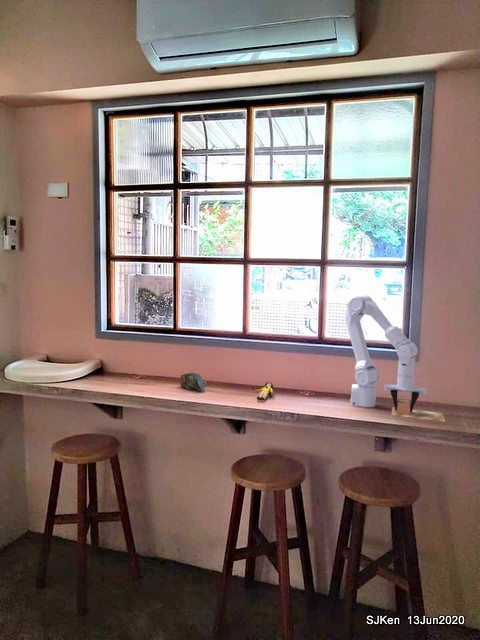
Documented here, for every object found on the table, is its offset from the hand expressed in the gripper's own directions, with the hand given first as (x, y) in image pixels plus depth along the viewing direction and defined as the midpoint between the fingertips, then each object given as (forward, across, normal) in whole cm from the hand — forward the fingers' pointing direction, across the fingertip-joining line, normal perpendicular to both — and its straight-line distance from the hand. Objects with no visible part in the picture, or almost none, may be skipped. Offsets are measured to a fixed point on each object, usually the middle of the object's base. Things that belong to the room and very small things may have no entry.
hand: (403, 410), depth 175 cm
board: (+2, +5, 0) cm, 5 cm away
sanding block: (+1, 0, 0) cm, 1 cm away
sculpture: (+2, -87, +2) cm, 87 cm away
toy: (+2, -54, +2) cm, 54 cm away
